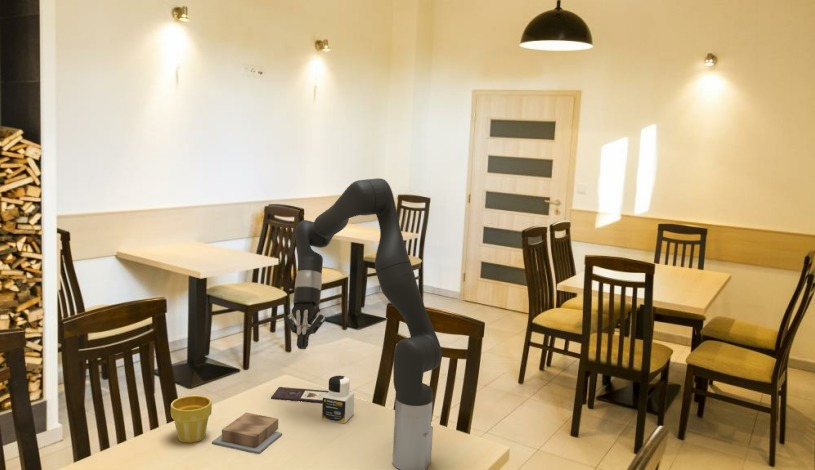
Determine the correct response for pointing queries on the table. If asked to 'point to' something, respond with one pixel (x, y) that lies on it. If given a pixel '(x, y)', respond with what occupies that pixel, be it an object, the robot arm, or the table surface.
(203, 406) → the plant pot
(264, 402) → the table surface
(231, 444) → the felt mat
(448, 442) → the table surface
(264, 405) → the table surface
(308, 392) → the chocolate bar
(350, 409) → the medicine bottle
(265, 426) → the walnut tile
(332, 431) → the table surface
